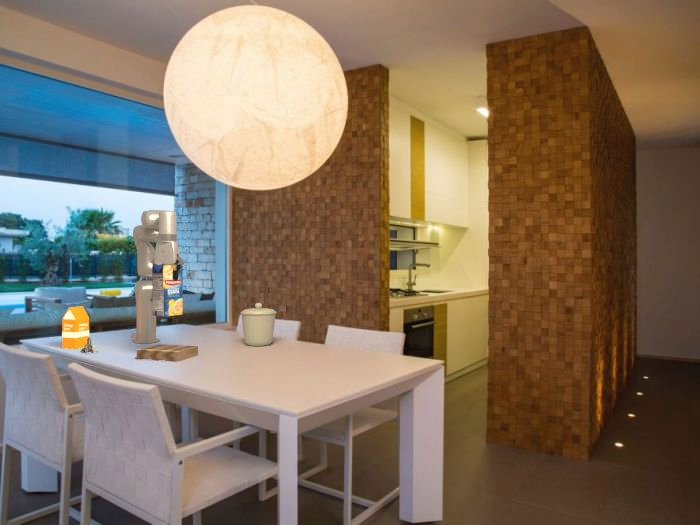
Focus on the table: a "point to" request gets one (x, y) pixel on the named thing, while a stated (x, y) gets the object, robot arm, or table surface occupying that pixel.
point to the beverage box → (166, 291)
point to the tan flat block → (167, 352)
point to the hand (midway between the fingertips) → (167, 279)
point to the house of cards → (89, 347)
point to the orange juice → (75, 328)
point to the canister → (258, 325)
